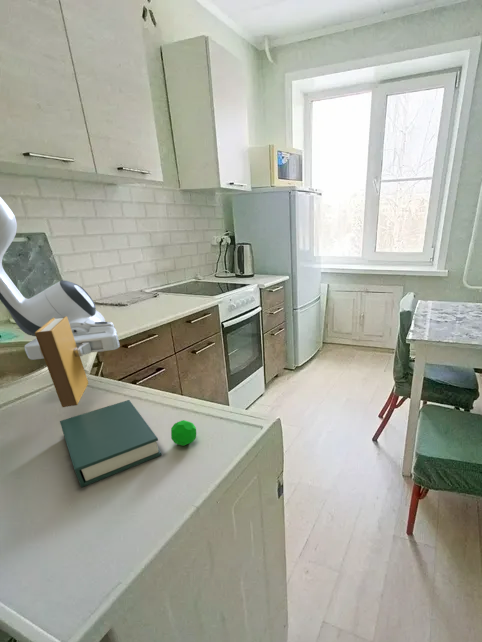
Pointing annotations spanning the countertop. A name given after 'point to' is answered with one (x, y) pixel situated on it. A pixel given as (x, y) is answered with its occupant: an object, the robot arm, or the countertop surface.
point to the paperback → (62, 360)
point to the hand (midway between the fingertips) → (67, 354)
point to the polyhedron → (183, 432)
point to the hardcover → (108, 441)
